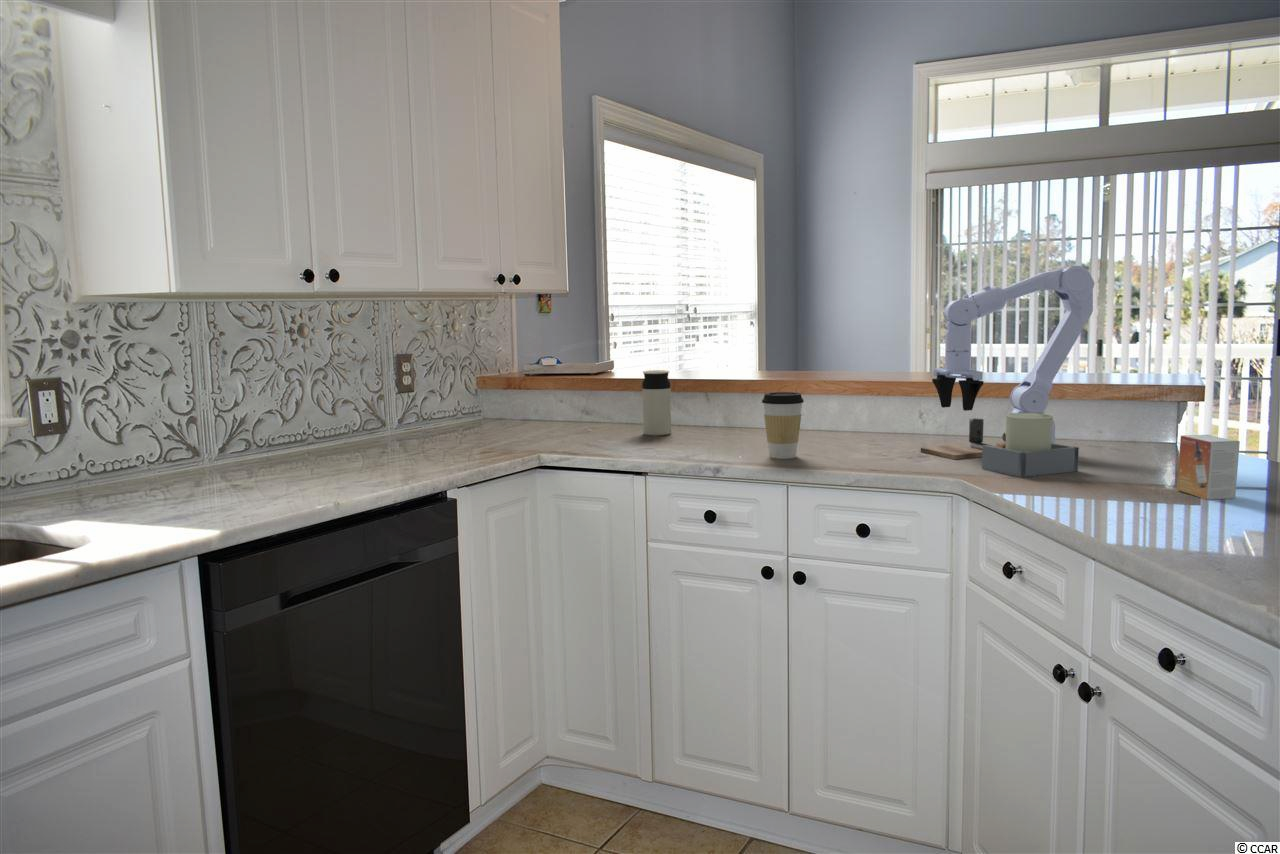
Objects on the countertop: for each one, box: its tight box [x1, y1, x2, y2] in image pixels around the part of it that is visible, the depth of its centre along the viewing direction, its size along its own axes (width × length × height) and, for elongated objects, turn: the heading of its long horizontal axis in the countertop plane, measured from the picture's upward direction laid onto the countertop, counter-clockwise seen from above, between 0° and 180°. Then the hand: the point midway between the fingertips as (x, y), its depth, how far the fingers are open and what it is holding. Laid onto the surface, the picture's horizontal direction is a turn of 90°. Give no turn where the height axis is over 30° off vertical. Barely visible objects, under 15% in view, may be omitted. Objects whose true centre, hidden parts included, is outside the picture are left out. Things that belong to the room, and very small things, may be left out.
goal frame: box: [981, 443, 1080, 478], centre depth 189 cm, size 15×11×5 cm
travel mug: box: [641, 369, 672, 437], centre depth 254 cm, size 8×8×18 cm
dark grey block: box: [968, 417, 1006, 450], centre depth 199 cm, size 5×13×9 cm, turn 21°
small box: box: [1176, 434, 1240, 501], centre depth 161 cm, size 8×6×10 cm
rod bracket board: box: [920, 444, 982, 460], centre depth 211 cm, size 10×12×1 cm
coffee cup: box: [761, 391, 805, 460], centre depth 212 cm, size 10×10×15 cm
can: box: [1005, 413, 1054, 452], centre depth 189 cm, size 9×9×12 cm
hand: (956, 408), depth 212 cm, fingers open, 7 cm apart
